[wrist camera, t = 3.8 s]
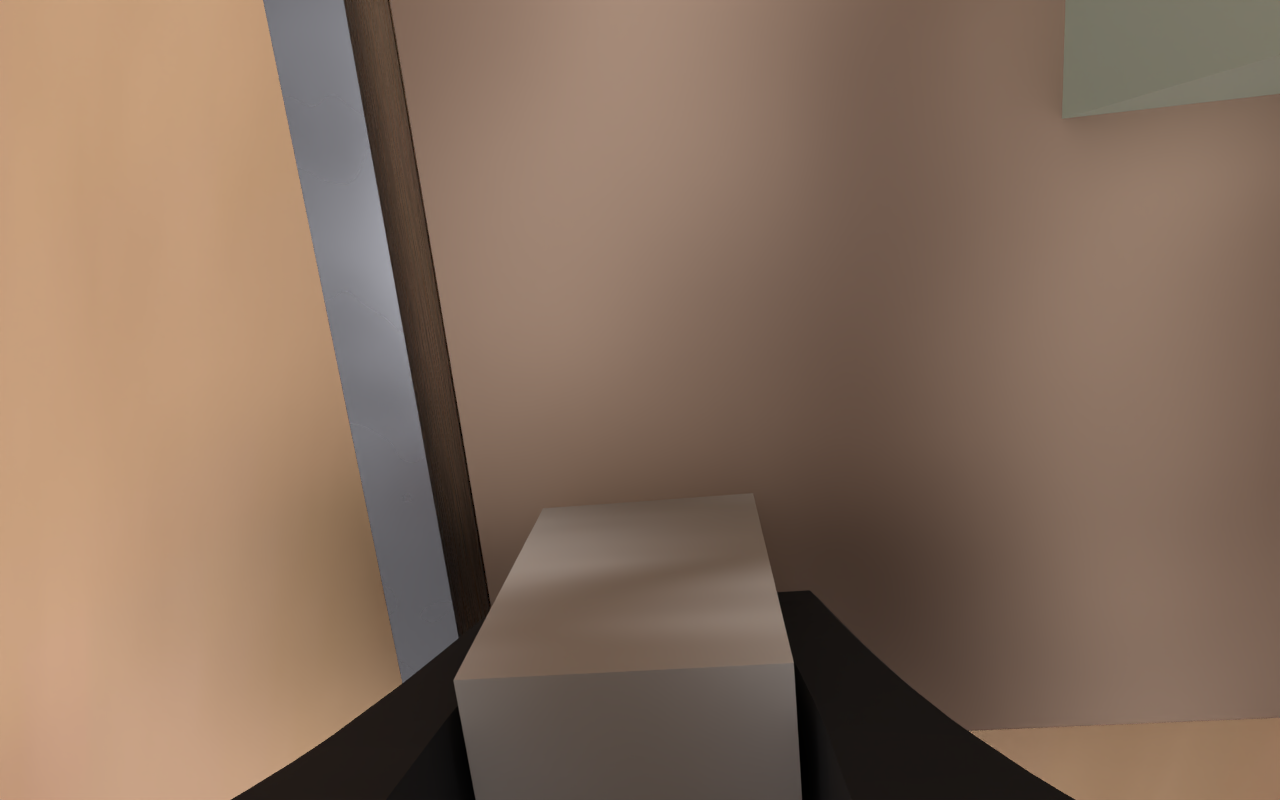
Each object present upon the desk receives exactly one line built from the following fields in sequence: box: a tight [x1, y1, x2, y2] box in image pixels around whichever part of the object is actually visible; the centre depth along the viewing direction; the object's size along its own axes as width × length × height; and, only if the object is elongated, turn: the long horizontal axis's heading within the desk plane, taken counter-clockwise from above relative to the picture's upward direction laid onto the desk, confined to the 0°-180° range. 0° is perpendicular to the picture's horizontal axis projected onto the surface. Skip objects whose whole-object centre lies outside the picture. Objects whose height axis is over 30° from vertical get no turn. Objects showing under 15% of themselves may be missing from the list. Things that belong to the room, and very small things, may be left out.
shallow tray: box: [390, 0, 1280, 800], centre depth 7 cm, size 13×16×5 cm
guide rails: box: [263, 0, 490, 683], centre depth 9 cm, size 16×26×2 cm, turn 6°
